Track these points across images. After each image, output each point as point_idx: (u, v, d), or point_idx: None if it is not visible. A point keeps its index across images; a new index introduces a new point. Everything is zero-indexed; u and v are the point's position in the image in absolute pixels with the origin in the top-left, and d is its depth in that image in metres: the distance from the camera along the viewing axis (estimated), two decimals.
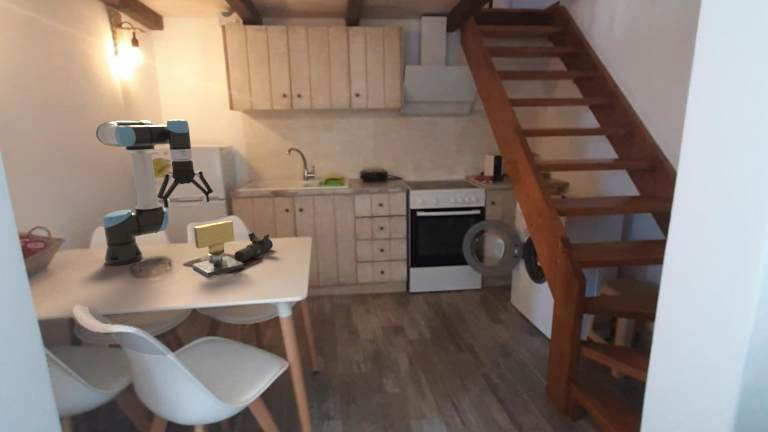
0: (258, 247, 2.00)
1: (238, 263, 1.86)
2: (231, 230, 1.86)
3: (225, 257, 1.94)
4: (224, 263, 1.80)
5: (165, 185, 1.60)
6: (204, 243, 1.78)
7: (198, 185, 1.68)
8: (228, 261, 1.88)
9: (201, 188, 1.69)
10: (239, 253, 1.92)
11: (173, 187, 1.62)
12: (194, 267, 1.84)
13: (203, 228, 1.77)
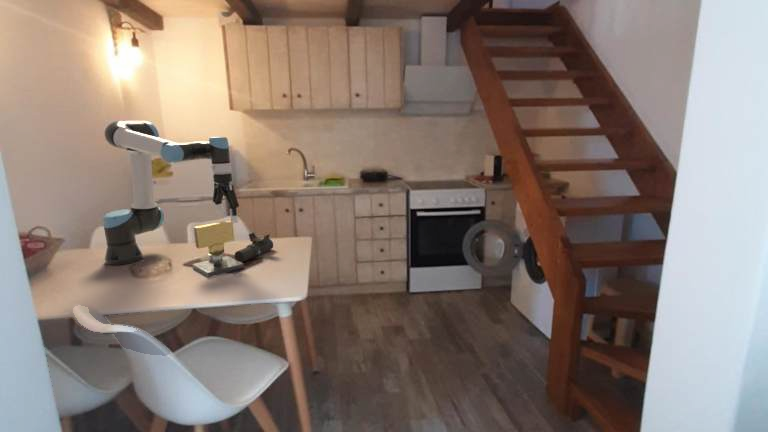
0: (258, 247, 2.00)
1: (238, 263, 1.86)
2: (231, 230, 1.86)
3: (225, 257, 1.94)
4: (224, 263, 1.80)
5: (214, 192, 1.87)
6: (204, 243, 1.78)
7: (227, 198, 1.79)
8: (228, 261, 1.88)
9: (228, 201, 1.78)
10: (239, 253, 1.92)
11: (217, 195, 1.85)
12: (194, 267, 1.84)
13: (203, 228, 1.77)
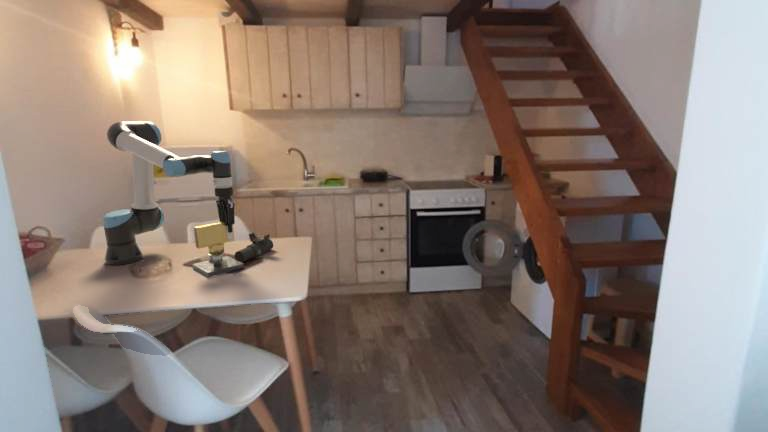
0: (258, 247, 2.00)
1: (238, 263, 1.86)
2: None
3: (225, 257, 1.94)
4: (224, 263, 1.80)
5: (218, 210, 1.87)
6: (204, 243, 1.78)
7: (225, 213, 1.82)
8: (228, 261, 1.88)
9: (225, 217, 1.83)
10: (239, 253, 1.91)
11: (221, 212, 1.85)
12: (194, 267, 1.84)
13: (203, 228, 1.77)
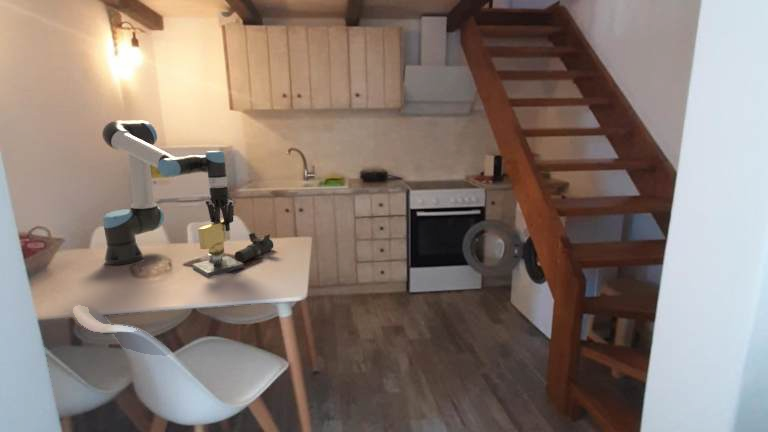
0: (258, 247, 2.00)
1: (238, 263, 1.86)
2: None
3: (225, 257, 1.94)
4: (224, 263, 1.80)
5: (209, 210, 1.86)
6: (209, 244, 1.78)
7: (223, 212, 1.84)
8: (228, 261, 1.88)
9: (224, 216, 1.85)
10: (239, 253, 1.91)
11: (215, 212, 1.85)
12: (194, 267, 1.84)
13: (208, 228, 1.76)
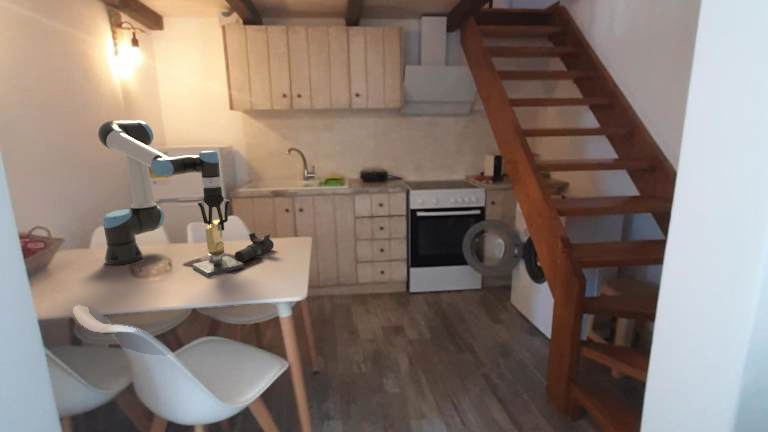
0: (258, 247, 2.00)
1: (238, 263, 1.86)
2: None
3: (225, 257, 1.94)
4: (224, 263, 1.80)
5: (203, 211, 1.84)
6: (215, 243, 1.78)
7: (219, 212, 1.85)
8: (228, 261, 1.88)
9: (220, 216, 1.86)
10: (239, 253, 1.91)
11: (210, 212, 1.84)
12: (194, 267, 1.84)
13: (214, 228, 1.77)
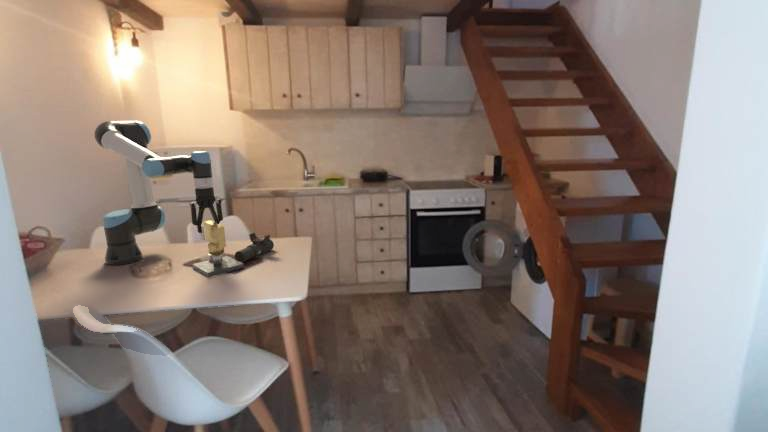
0: (259, 247, 2.00)
1: (238, 263, 1.86)
2: None
3: (225, 257, 1.94)
4: (224, 263, 1.80)
5: (195, 213, 1.80)
6: None
7: (214, 212, 1.86)
8: (228, 261, 1.88)
9: (215, 215, 1.86)
10: (239, 253, 1.91)
11: (201, 213, 1.82)
12: (194, 267, 1.84)
13: None
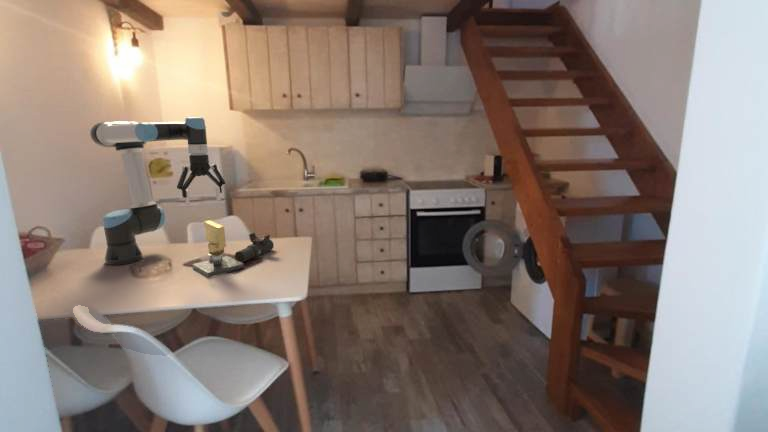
0: (259, 248, 2.00)
1: (238, 263, 1.86)
2: None
3: (225, 257, 1.94)
4: (224, 263, 1.80)
5: (184, 177, 1.75)
6: None
7: (213, 177, 1.84)
8: (228, 261, 1.88)
9: (215, 180, 1.85)
10: (239, 254, 1.91)
11: (191, 179, 1.77)
12: (194, 267, 1.84)
13: None
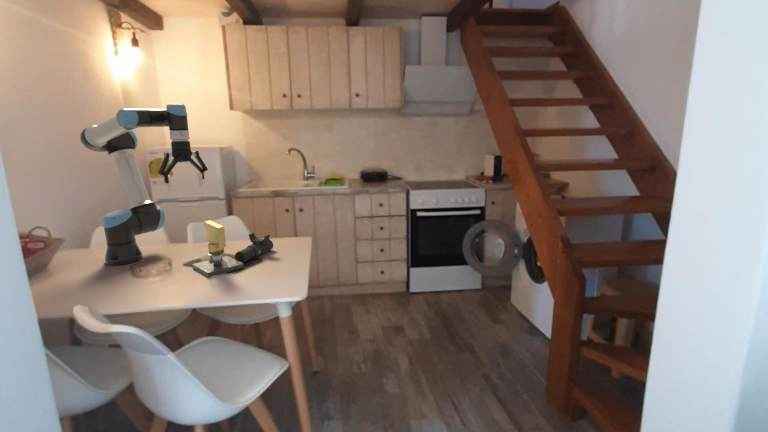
0: (259, 248, 1.99)
1: (238, 263, 1.86)
2: None
3: (225, 257, 1.94)
4: (224, 263, 1.80)
5: (166, 163, 1.78)
6: None
7: (195, 163, 1.86)
8: (228, 261, 1.88)
9: (197, 166, 1.87)
10: (240, 254, 1.91)
11: (173, 165, 1.80)
12: (194, 267, 1.84)
13: None
